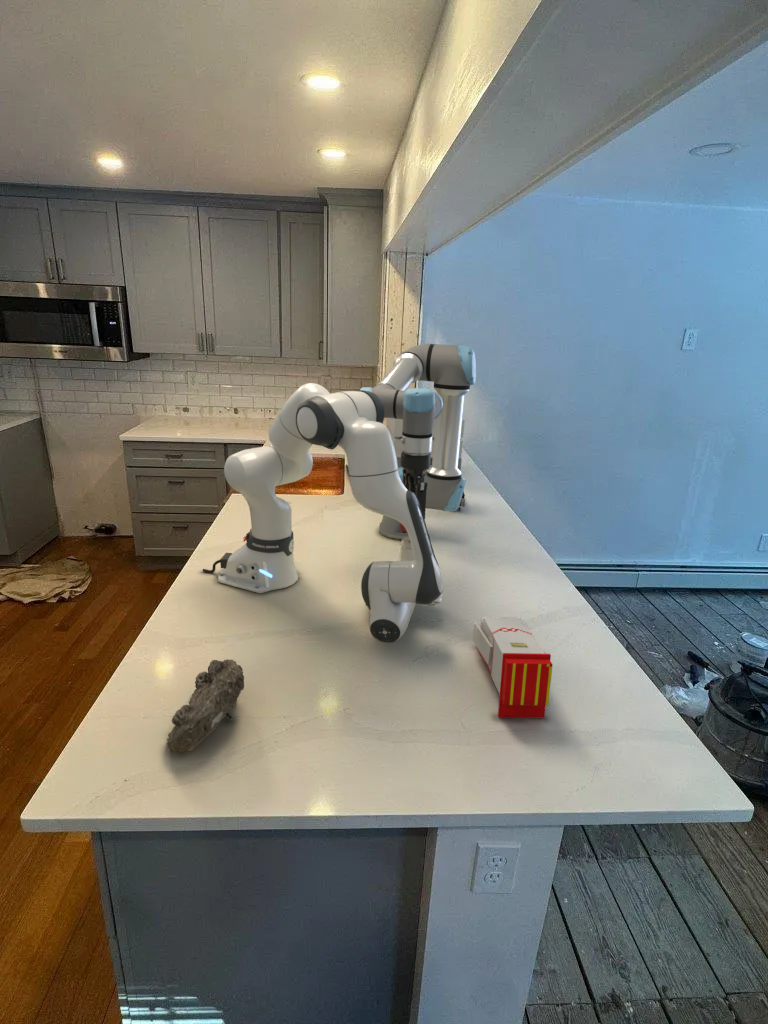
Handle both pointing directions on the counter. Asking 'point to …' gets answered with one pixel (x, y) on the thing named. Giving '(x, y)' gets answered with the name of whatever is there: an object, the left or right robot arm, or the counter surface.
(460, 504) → the figurine character
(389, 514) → the left robot arm
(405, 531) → the lid
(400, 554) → the jar
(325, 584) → the counter surface
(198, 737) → the fossil
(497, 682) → the toy
